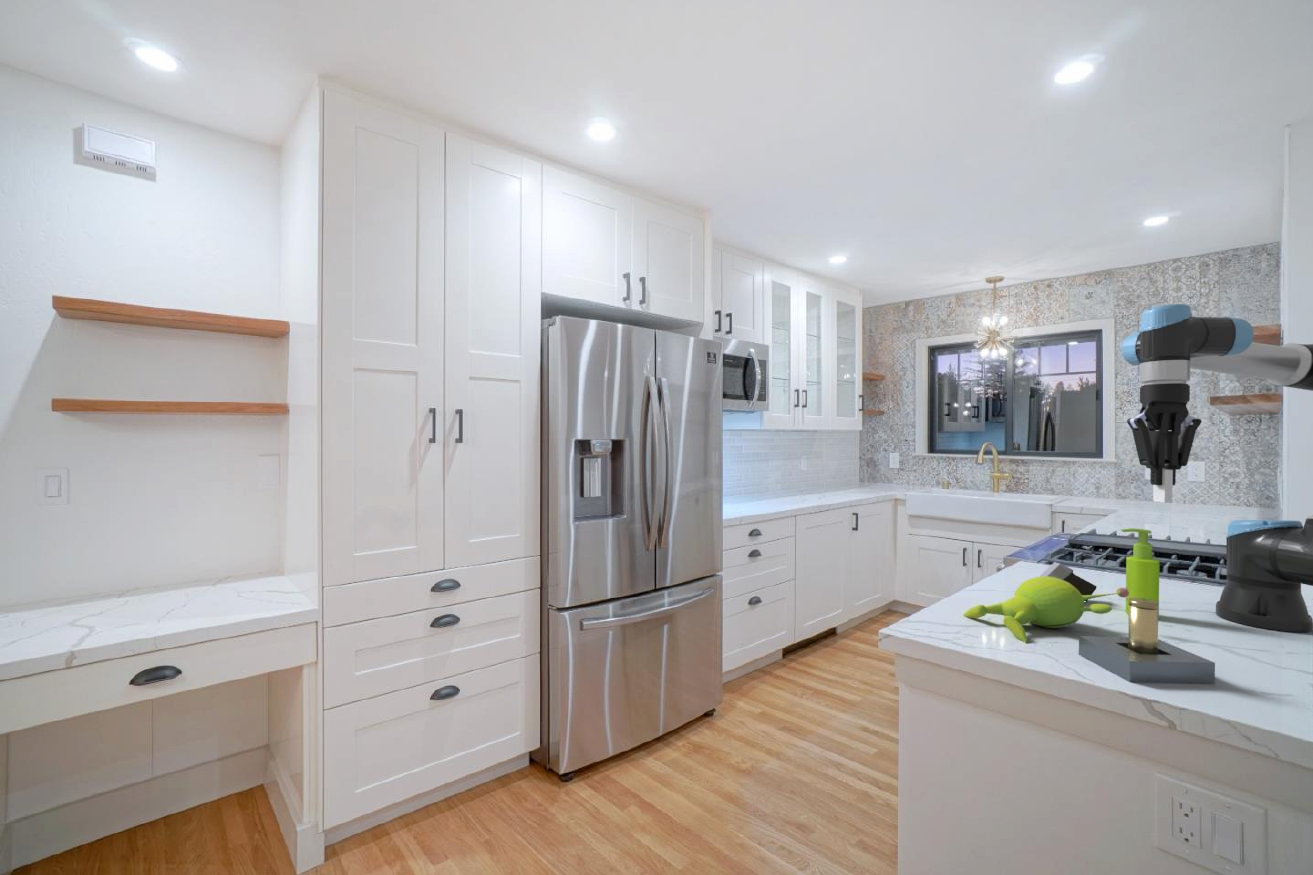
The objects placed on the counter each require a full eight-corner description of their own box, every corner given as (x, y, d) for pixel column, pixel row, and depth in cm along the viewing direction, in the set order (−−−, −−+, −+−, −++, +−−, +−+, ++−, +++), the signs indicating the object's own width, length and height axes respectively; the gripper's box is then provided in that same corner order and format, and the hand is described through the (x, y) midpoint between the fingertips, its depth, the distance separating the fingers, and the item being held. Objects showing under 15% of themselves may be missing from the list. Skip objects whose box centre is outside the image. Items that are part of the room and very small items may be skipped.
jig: (1154, 656, 108) (1154, 637, 108) (1214, 683, 96) (1215, 662, 96) (1078, 654, 109) (1079, 636, 109) (1129, 681, 97) (1129, 660, 97)
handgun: (1046, 626, 147) (1017, 591, 146) (1089, 586, 147) (1060, 551, 147) (1057, 631, 143) (1027, 595, 143) (1101, 590, 144) (1071, 554, 143)
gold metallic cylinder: (1144, 664, 104) (1145, 598, 104) (1163, 673, 100) (1164, 604, 100) (1122, 663, 105) (1123, 597, 105) (1140, 672, 101) (1141, 604, 101)
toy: (1034, 660, 113) (1153, 620, 119) (1025, 608, 113) (1145, 571, 119) (961, 628, 133) (1066, 596, 139) (953, 583, 132) (1059, 553, 138)
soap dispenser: (1119, 609, 138) (1120, 526, 138) (1157, 614, 134) (1158, 529, 134) (1120, 615, 134) (1122, 529, 134) (1160, 621, 130) (1161, 532, 129)
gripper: (1180, 385, 119) (1179, 500, 119) (1116, 385, 119) (1114, 499, 119) (1215, 382, 111) (1213, 504, 111) (1146, 381, 111) (1144, 503, 111)
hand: (1162, 501), depth 115 cm, fingers closed
